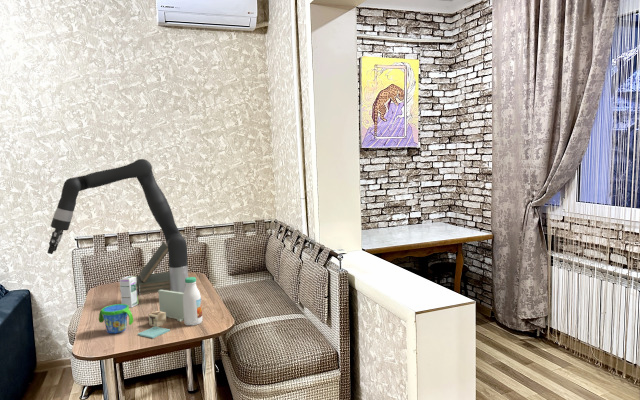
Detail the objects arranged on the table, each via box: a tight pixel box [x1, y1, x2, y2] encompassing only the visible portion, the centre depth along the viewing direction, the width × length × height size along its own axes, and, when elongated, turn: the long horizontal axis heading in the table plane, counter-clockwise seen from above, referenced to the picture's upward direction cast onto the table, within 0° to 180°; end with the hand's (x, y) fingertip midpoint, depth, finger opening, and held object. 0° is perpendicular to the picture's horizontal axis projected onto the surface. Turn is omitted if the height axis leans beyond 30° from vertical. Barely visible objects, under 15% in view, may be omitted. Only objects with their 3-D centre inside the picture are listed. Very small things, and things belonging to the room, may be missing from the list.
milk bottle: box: [183, 276, 203, 327], centre depth 196 cm, size 8×8×20 cm
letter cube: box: [148, 310, 167, 327], centre depth 197 cm, size 5×5×5 cm
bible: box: [136, 241, 171, 296], centre depth 257 cm, size 23×20×25 cm
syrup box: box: [119, 275, 140, 309], centre depth 225 cm, size 6×6×14 cm
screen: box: [158, 290, 184, 322], centre depth 205 cm, size 5×16×12 cm, turn 61°
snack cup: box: [98, 303, 134, 334], centre depth 191 cm, size 16×10×10 cm
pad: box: [137, 326, 171, 339], centre depth 187 cm, size 9×9×1 cm
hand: (51, 252), depth 211 cm, fingers open, 8 cm apart
